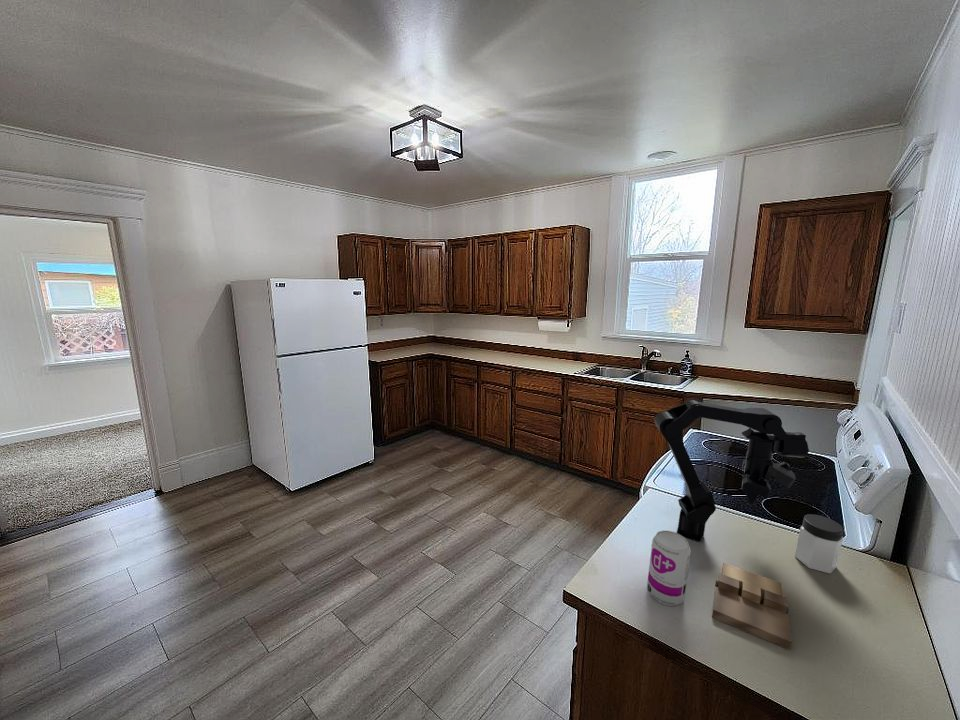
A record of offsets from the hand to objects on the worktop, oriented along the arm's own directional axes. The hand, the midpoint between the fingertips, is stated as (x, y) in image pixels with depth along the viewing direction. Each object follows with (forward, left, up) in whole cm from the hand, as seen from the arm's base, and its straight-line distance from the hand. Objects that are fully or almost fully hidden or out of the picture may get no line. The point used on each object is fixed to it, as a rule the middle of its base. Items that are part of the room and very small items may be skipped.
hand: (751, 503), depth 113 cm
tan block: (+1, -25, -12) cm, 28 cm away
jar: (+16, 0, -12) cm, 20 cm away
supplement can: (-16, -36, -12) cm, 41 cm away
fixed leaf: (+1, -31, -12) cm, 33 cm away
